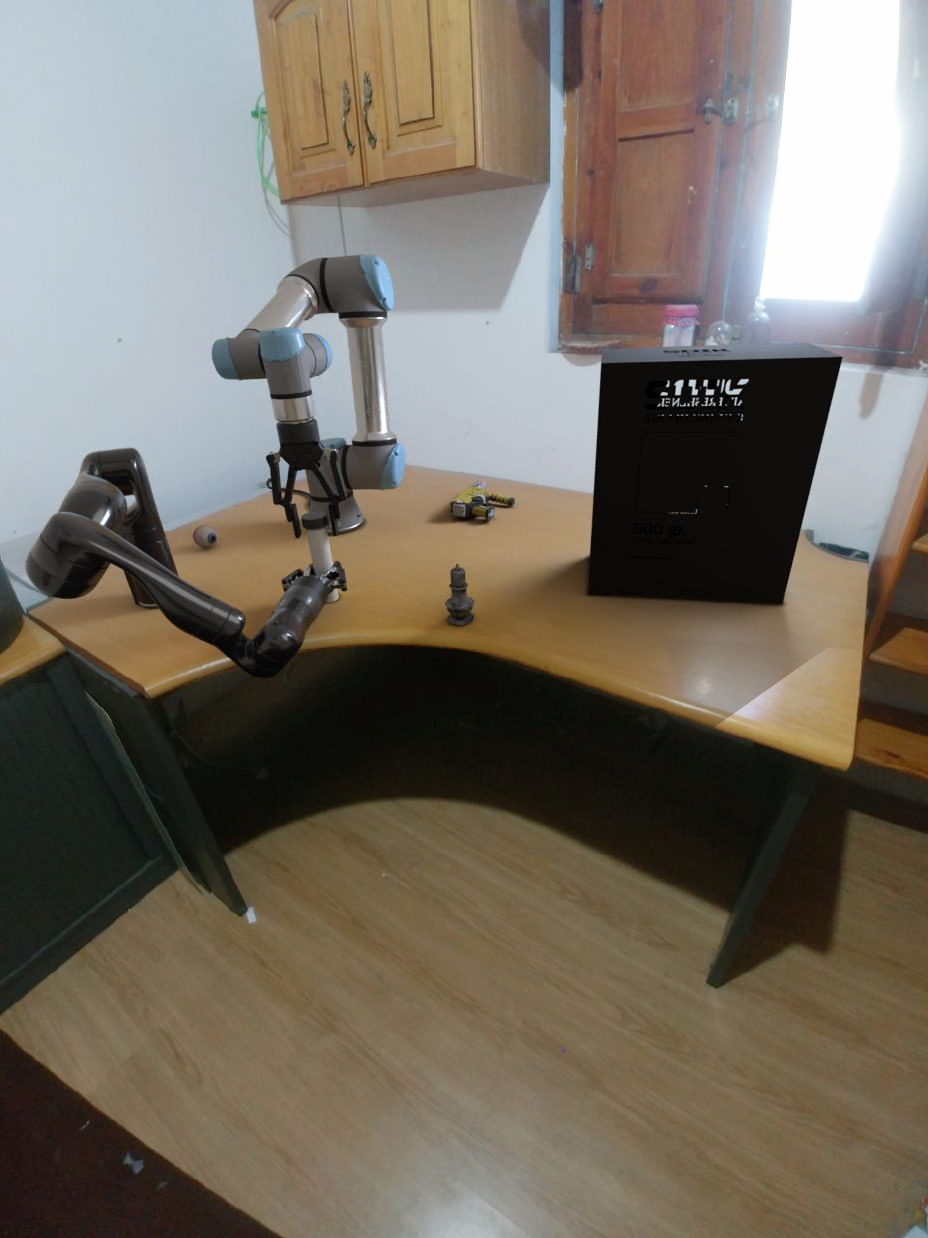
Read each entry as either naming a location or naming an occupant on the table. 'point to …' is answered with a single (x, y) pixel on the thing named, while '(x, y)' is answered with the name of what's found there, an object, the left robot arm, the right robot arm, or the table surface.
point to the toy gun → (477, 502)
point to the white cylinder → (321, 554)
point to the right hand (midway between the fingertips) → (317, 534)
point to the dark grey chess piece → (459, 599)
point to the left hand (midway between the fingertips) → (327, 564)
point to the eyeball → (205, 536)
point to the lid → (314, 520)
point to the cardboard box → (705, 469)
